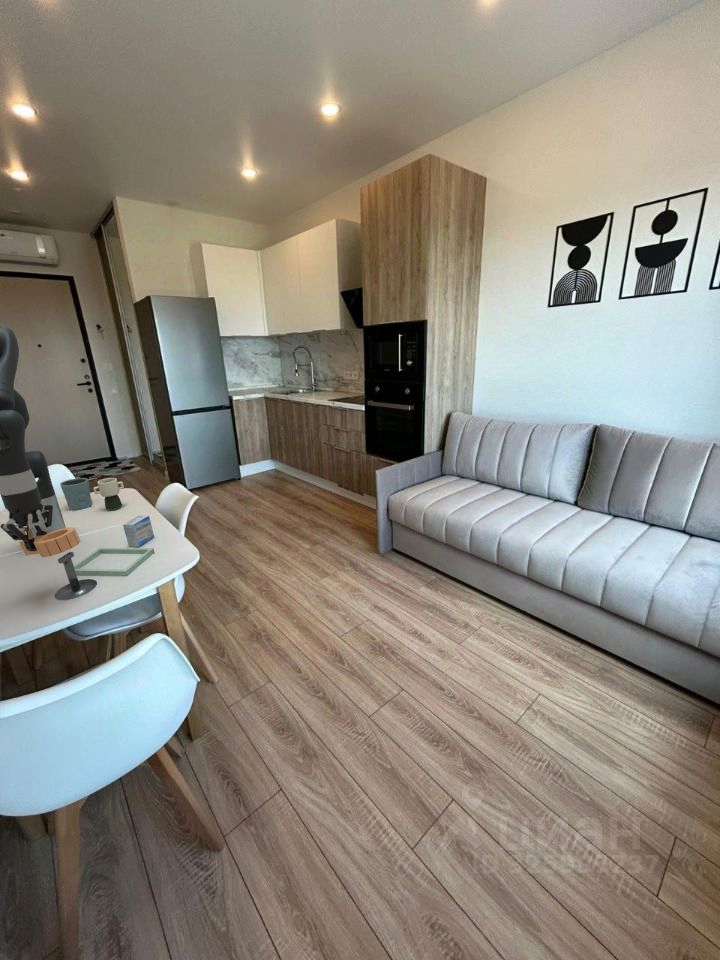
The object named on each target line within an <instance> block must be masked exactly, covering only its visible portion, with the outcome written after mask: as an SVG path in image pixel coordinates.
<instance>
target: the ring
mask: <svg viewBox="0 0 720 960" xmlns="http://www.w3.org/2000/svg"><path fill="white" fill-rule="evenodd" d="M33 538H34V539H35V541H34V545H35V546H36V548H37V550H36V551H29V550H27V549H26V547H25V544H24V541H23V540H20V542H19V544H20V546H21V549H22V550H23V553H24V554H25V555H26V556H30V555H39V556H40V557H41V558H48V557H53V556H56V555H59V554H62V553H65V552H67V551H69V550H72V549H73V548H75V547H76V546H78V545H80V543H81V538H80V537H79V535H78V532H77V530H76V528H75V527H72V526H71V527H70V526H69V527H66V528H64V529H60V530H56V531H53V532H51V533H48V534H46V535H41V536H33Z"/></svg>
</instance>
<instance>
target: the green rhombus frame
mask: <svg viewBox="0 0 720 960" xmlns="http://www.w3.org/2000/svg"><path fill="white" fill-rule="evenodd" d="M101 554H121V555H122V554H124V555H125V554H129V555H130V554H133V555H134V554H137V555H138V554H139V555H141V556H139V557H138V558H137V559H136V560H135V561H133V562H132V563H131V564H129V566H127V567H126V568H125V569H117V568H114V569H110V568H109V569H108V568H104V569H103V568H102V569H101V568H83V567H84V566H86V565H87V564H89V563H90V562H92V561H93V560H94V559H96V558H97V557H99V556H100V555H101ZM155 554H156V552H155V549H154V548H153V547H98V548H97V549H95V550H94V551H93V552H91V553H90V554H88V555H87V556H85V557H84V558H83V559H81V560H79V562H76V563H75V564H73V566H74V569H75V572H76V575H77V576H101V577H103V576H104V577H105V576H107V577H109V576H110V577H113V576H114V577H128V576H129V575H131V573H132V572H134V571H135V570H136V569H137V568H138V567H140V565H142V564H143V563H144V562H145V561H146V560H148V559H149V558H150V557H151V556H152V555H155Z"/></svg>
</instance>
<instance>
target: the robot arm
mask: <svg viewBox="0 0 720 960" xmlns="http://www.w3.org/2000/svg"><path fill="white" fill-rule="evenodd" d="M19 356H20V348H19V342H18V339H17V336H16V334H15V332H14V331H13V330H12V329H11V328H9V327H5V326H0V497H1V501H2V503H3V506H4V508H5V509H6V511H8V515H9V516H8V520H7V521H6V522H5V523H1V524H0V529H2V530H3V531H4V532H5V533H6V534H7V535H8V536H9V537H11V539H12V540H13V541H24V544H25V547H26V549H27V550H29V551H36V550H37V548H36V546H35V545H34V541H35V539H34V538H33V536H41V535H46V534H48V533H51V532H53V531H56V530H60V529H64V528H67V526H66V524H65V521H64V517H63V514H62V511H61V508H60V504H59V502H58V498H57V495H56V492H55V491H56V490H55V488H54V485H53V483H52V482H53V481H52V480H51V479H52V478H51V474H50V471H49V465H48V463H47V459H46V457H45V455H44V453H43V452H42V451H40V450H32V451H26V447H25V445H26V444H25V443H26V442H25V435H26V430H27V428H28V425H29V423H30V415H29V410H28V407H27V403H26V400H25V398H24V397H23V396H22V395H21V393H19V392H18V391H17V390H16V389H15V378H16V375H17V371H18V370H17V369H18V363H19ZM36 479H37V481H36Z"/></svg>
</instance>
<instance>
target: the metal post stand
mask: <svg viewBox="0 0 720 960" xmlns="http://www.w3.org/2000/svg"><path fill="white" fill-rule="evenodd" d="M74 557H75V553H74V552H73V551H69V552H67V553H65V554H64V555H63V556H61V557H59V558H58V559H57V561H58V564H63V567H64V571H65V573H66V576H67V581H68V583H67V584H65V585H63V586H62V587H61V588H59V589H58V590H56V592H55V593H54V599H56V600H58V601H70V600H73V599H78V598H80V597H83V596H84V595H87V594H88V593H90V592H91V591H93V590H94V589H95V588H96V587H97V585H98V582H97V580H95V579H93V578H92V579H91V578H86V579H78V575H76V572H75V569H74V562H73V559H72V558H74Z"/></svg>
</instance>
